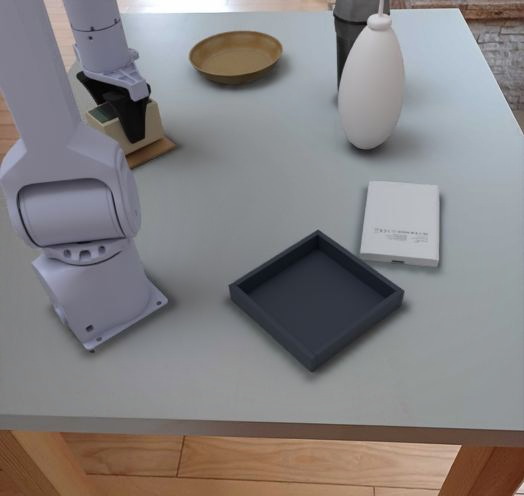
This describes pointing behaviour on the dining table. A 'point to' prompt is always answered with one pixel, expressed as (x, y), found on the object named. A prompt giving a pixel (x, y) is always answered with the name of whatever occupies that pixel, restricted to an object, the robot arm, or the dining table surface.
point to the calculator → (111, 126)
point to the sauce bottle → (372, 84)
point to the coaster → (149, 152)
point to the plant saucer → (236, 56)
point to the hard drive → (401, 223)
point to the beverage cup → (352, 25)
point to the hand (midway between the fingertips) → (127, 132)
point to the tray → (315, 298)
